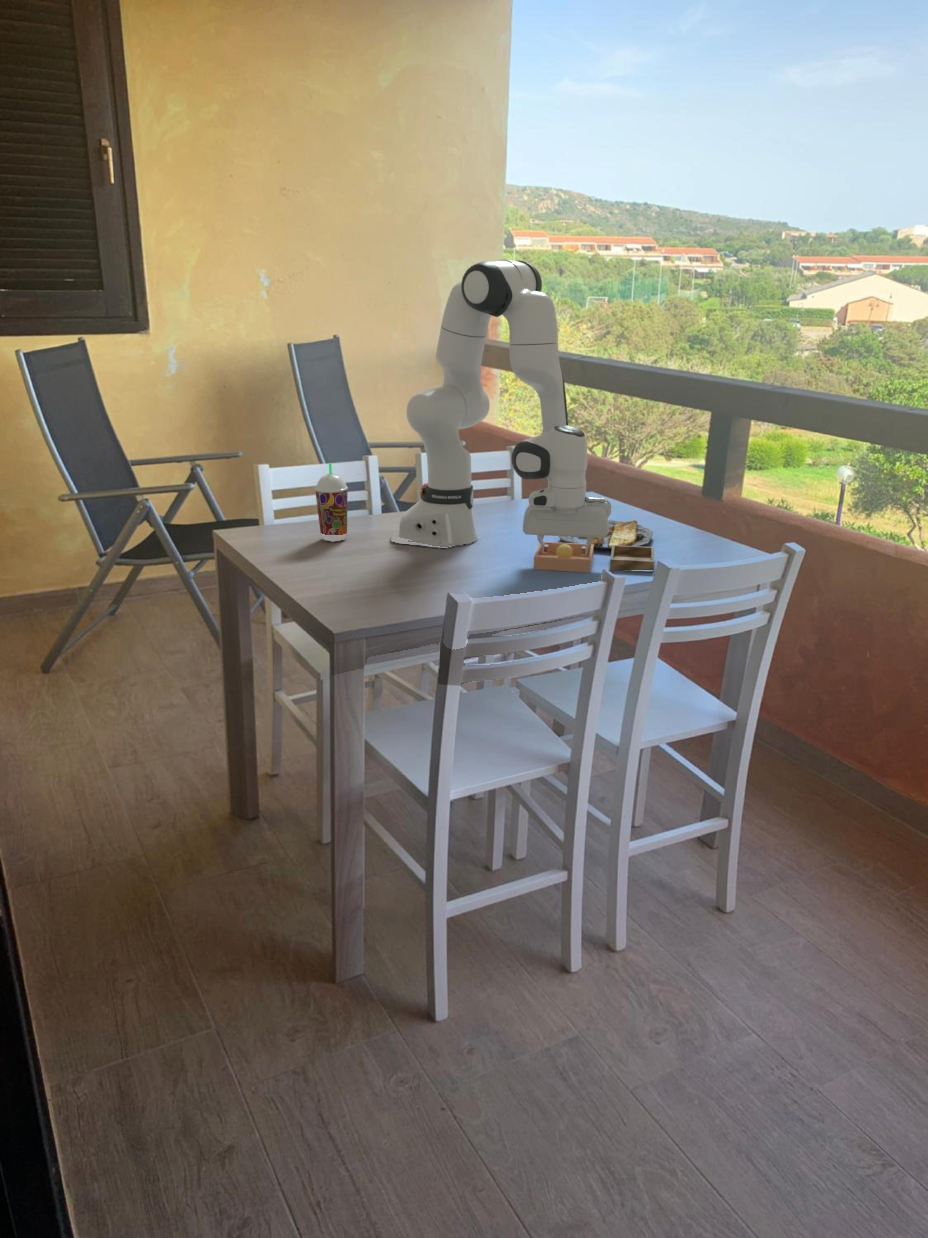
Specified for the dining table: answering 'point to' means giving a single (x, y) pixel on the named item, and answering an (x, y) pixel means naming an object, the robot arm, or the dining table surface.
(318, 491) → the smoothie
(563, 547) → the ball
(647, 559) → the tray
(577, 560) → the dish
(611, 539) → the food plate
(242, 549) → the dining table surface
